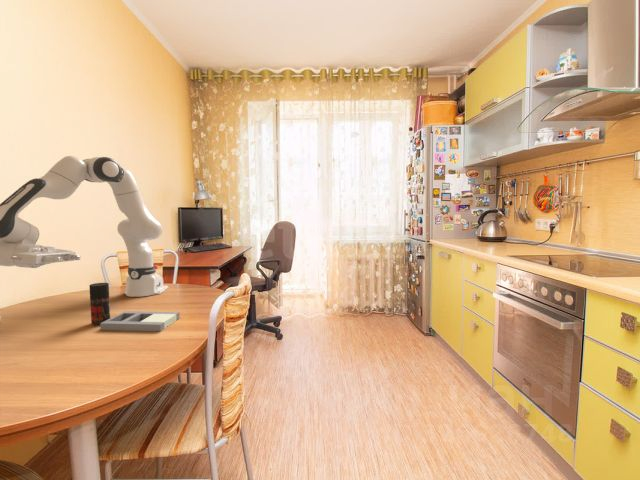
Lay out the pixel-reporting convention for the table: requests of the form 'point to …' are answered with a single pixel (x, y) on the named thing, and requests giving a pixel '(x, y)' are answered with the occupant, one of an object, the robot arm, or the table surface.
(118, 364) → the table surface
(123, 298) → the table surface
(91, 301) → the deodorant
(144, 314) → the board
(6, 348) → the table surface
